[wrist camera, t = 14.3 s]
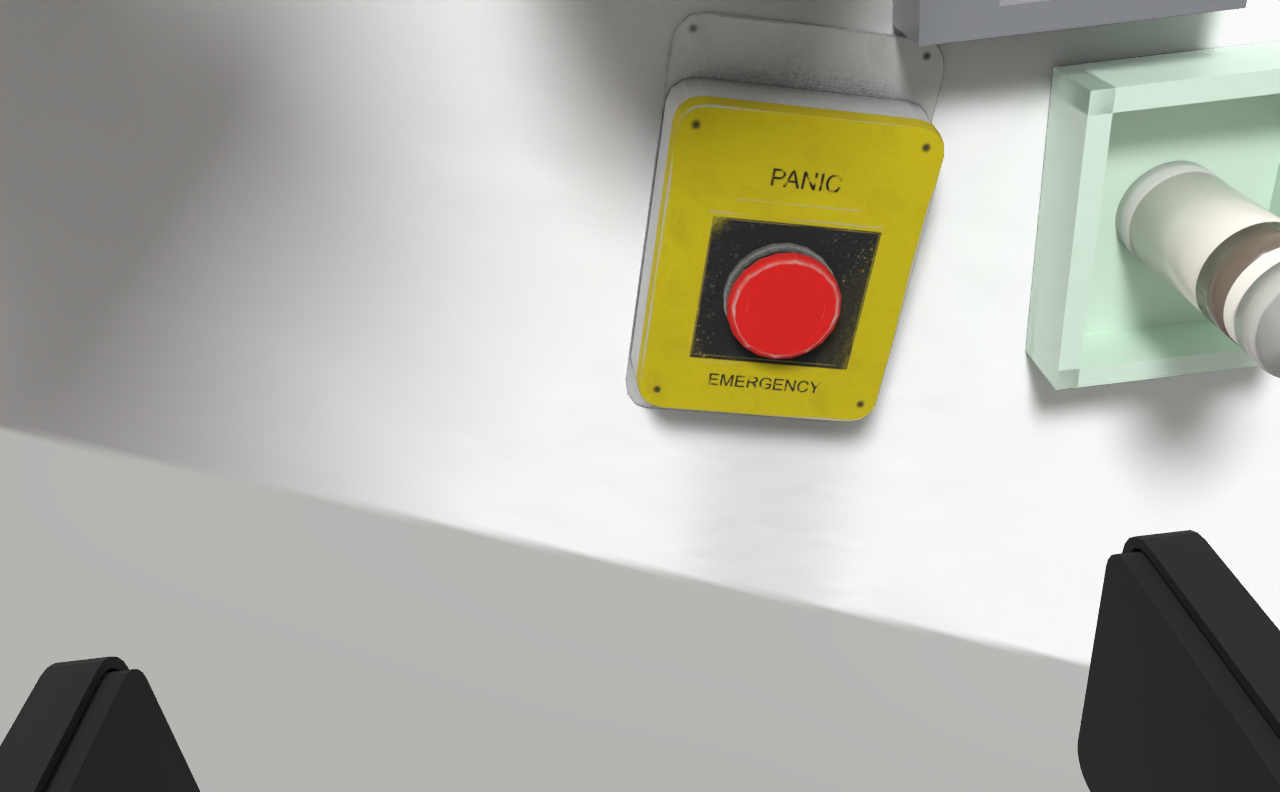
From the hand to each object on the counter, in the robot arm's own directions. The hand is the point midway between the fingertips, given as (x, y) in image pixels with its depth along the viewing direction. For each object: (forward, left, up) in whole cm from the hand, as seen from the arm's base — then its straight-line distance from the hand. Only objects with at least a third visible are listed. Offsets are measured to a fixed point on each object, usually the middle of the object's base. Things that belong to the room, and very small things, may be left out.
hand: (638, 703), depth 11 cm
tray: (+8, +20, -28) cm, 36 cm away
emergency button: (+8, +6, -29) cm, 31 cm away
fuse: (+8, +20, -28) cm, 35 cm away
